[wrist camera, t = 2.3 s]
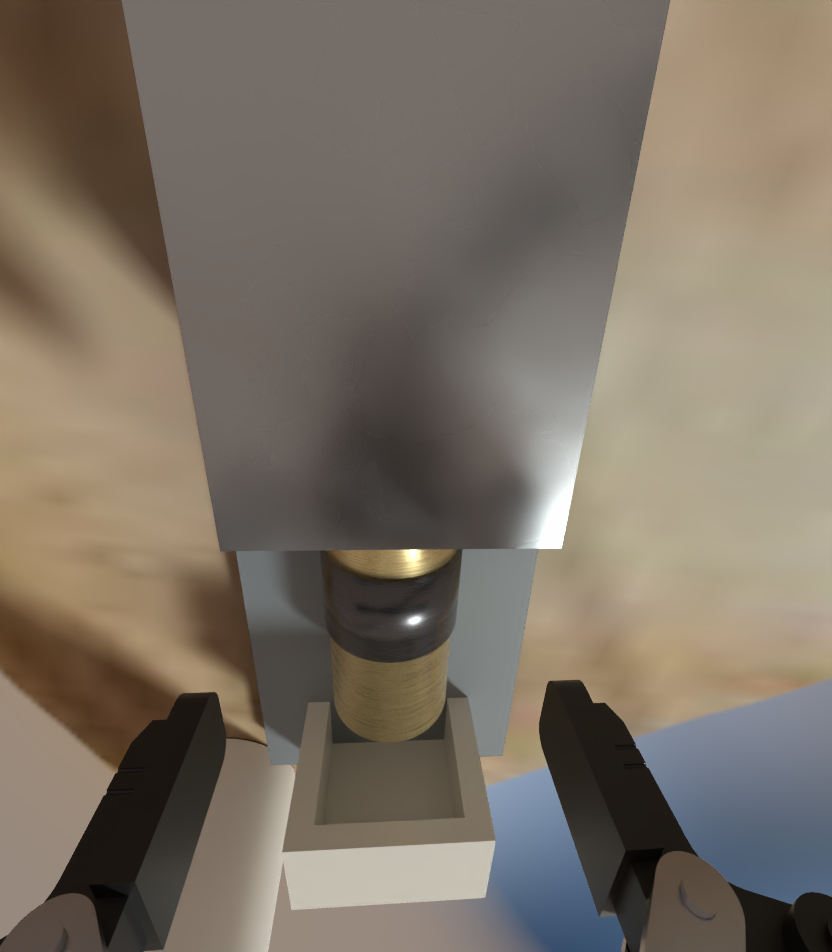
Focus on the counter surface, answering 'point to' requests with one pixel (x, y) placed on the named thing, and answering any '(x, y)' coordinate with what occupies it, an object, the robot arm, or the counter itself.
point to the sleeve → (393, 253)
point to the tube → (390, 636)
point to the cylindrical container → (236, 857)
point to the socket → (388, 817)
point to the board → (309, 649)
